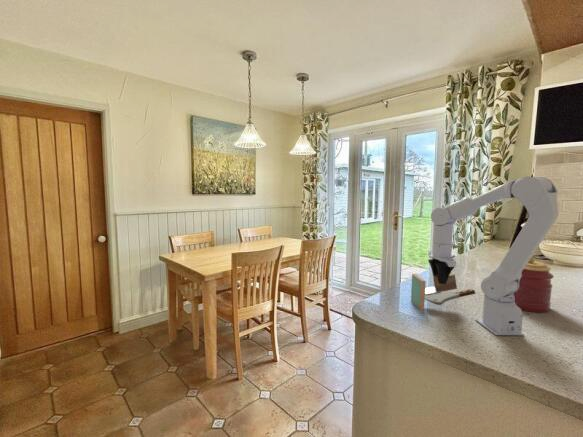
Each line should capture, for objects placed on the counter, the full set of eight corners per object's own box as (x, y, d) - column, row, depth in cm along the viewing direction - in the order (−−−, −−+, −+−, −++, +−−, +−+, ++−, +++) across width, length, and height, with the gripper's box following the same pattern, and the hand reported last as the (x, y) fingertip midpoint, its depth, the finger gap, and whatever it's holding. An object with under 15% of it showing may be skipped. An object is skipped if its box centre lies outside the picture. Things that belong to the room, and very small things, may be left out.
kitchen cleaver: (456, 285, 119) (481, 291, 110) (456, 287, 120) (481, 294, 110) (413, 294, 109) (436, 302, 100) (413, 297, 110) (436, 305, 100)
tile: (424, 310, 96) (425, 281, 95) (420, 310, 96) (421, 281, 95) (414, 300, 104) (415, 273, 103) (410, 300, 104) (411, 273, 103)
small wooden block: (458, 289, 97) (456, 275, 96) (426, 295, 97) (423, 281, 96) (450, 285, 102) (448, 271, 101) (419, 290, 102) (417, 277, 101)
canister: (531, 315, 93) (536, 261, 91) (493, 300, 105) (497, 252, 103) (559, 310, 96) (565, 259, 94) (520, 296, 108) (524, 250, 107)
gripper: (421, 239, 105) (419, 275, 106) (441, 247, 90) (438, 289, 92) (440, 239, 105) (438, 275, 106) (463, 247, 90) (460, 289, 92)
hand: (439, 281), depth 99 cm, fingers closed on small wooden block, 3 cm apart
